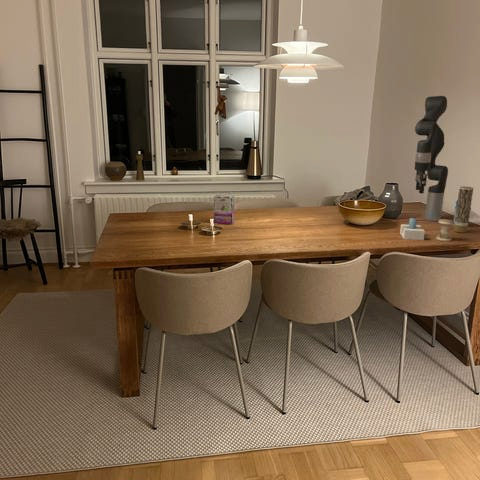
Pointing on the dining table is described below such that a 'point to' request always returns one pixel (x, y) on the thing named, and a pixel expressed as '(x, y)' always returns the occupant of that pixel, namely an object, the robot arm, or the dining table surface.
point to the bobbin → (445, 230)
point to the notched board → (412, 232)
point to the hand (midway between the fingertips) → (419, 191)
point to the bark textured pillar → (463, 209)
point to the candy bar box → (224, 209)
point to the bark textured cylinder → (456, 209)
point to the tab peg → (412, 223)
